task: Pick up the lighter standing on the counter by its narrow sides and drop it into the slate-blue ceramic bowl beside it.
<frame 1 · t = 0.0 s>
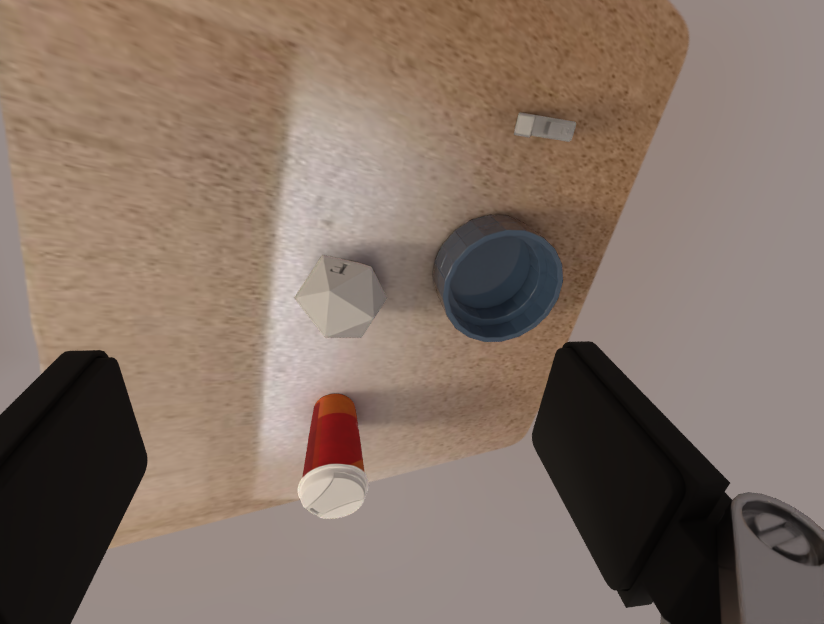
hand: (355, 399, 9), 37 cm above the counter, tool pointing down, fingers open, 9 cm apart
lighter: (521, 122, 42), on the counter
grey polyhedron: (342, 281, 48), on the counter
paper cup: (335, 408, 57), on the counter
bowl: (486, 268, 50), on the counter
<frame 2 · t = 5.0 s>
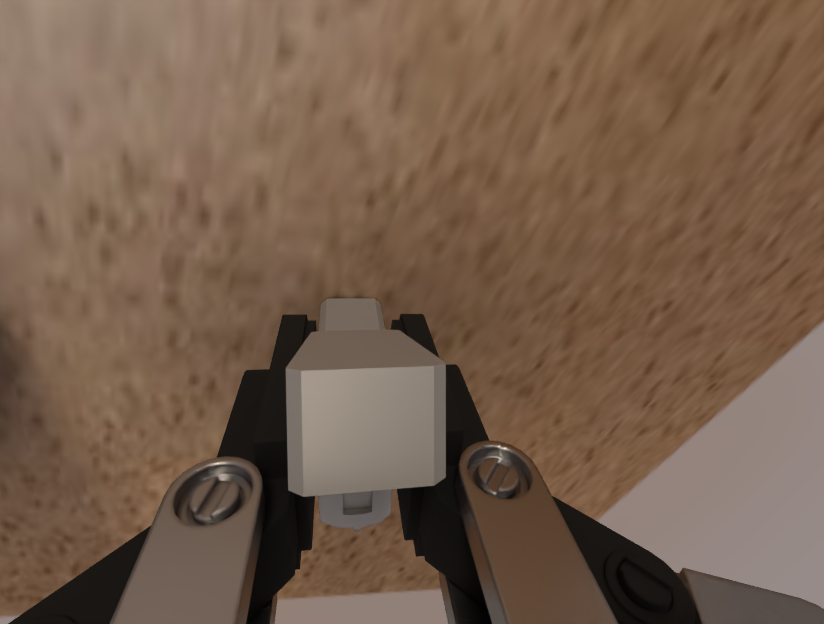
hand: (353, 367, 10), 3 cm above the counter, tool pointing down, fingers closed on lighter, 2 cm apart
lighter: (350, 312, 13), on the counter, touching gripper
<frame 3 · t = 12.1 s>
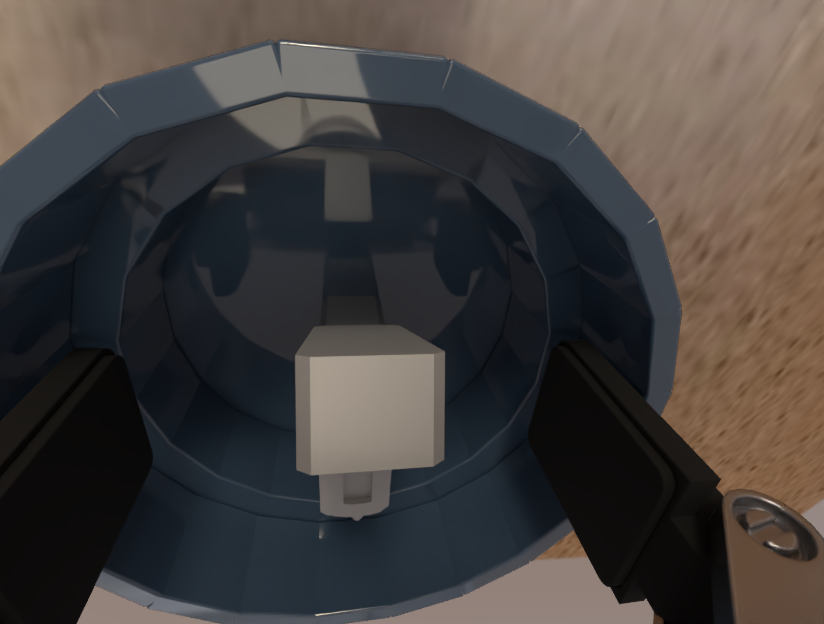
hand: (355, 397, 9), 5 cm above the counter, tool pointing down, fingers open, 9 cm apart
lighter: (351, 309, 13), resting on bowl
bowl: (349, 304, 13), on the counter
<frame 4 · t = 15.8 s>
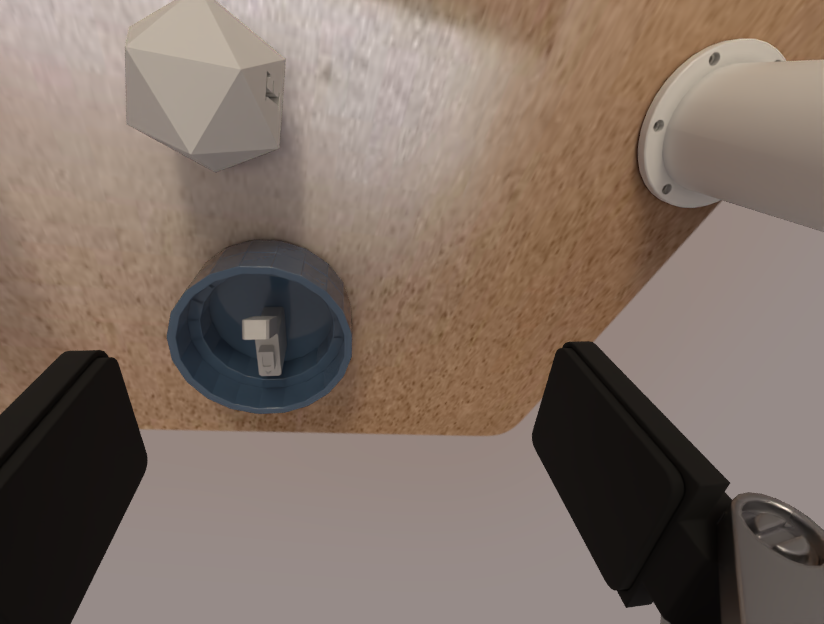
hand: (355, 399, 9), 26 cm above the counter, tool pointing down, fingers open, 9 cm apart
lighter: (274, 311, 36), resting on bowl
grey polyhedron: (224, 89, 28), on the counter
bowl: (274, 309, 37), on the counter
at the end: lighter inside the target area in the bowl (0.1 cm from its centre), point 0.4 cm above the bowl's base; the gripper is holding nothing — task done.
